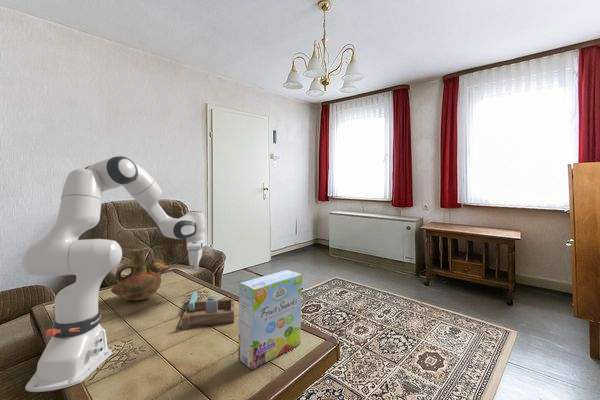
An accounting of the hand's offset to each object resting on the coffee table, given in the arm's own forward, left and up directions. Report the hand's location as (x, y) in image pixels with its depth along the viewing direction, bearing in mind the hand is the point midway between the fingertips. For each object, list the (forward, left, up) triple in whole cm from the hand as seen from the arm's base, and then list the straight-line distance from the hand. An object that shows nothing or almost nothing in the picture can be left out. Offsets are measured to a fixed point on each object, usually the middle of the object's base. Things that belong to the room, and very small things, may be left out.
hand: (196, 269), depth 144 cm
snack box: (-56, -31, -14) cm, 66 cm away
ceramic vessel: (+4, +27, -14) cm, 30 cm away
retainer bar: (-12, 0, -13) cm, 18 cm away
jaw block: (-25, -9, -13) cm, 30 cm away
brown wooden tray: (-19, -8, -14) cm, 25 cm away
